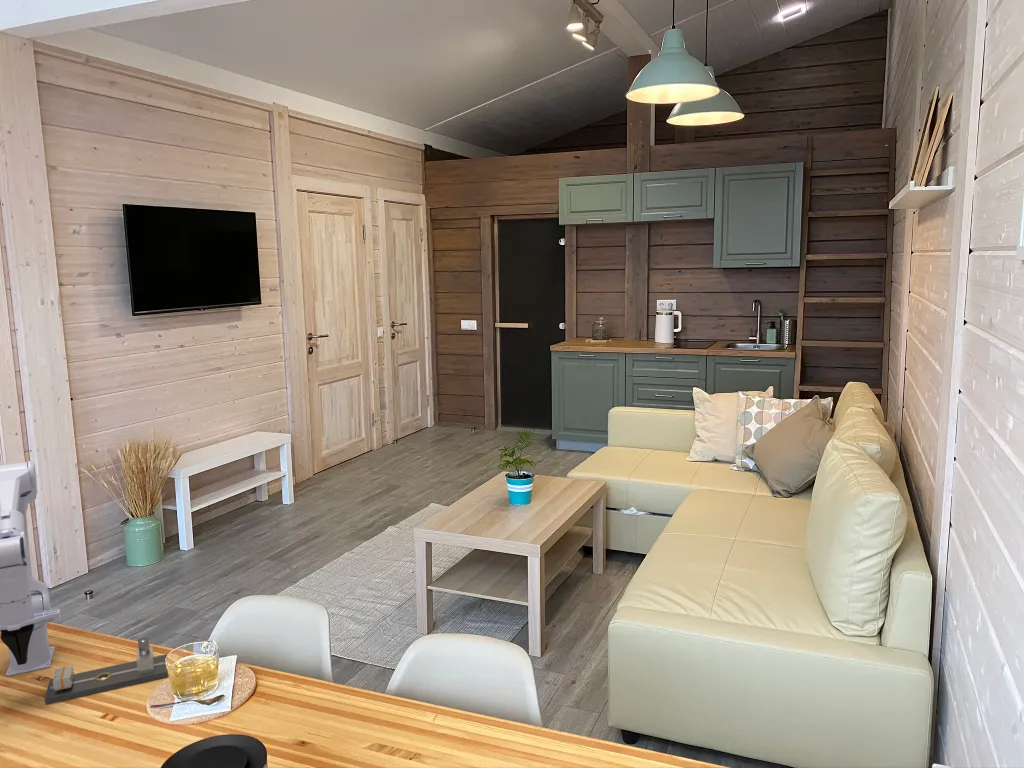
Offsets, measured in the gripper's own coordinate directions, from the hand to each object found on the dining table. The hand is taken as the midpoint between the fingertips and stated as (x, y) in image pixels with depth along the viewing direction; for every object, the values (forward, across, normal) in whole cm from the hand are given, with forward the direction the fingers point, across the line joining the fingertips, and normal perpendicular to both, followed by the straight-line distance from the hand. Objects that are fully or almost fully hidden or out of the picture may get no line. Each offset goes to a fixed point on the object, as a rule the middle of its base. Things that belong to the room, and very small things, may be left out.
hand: (22, 662), depth 151 cm
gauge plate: (+8, +14, 0) cm, 17 cm away
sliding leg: (+6, +7, 0) cm, 9 cm away
